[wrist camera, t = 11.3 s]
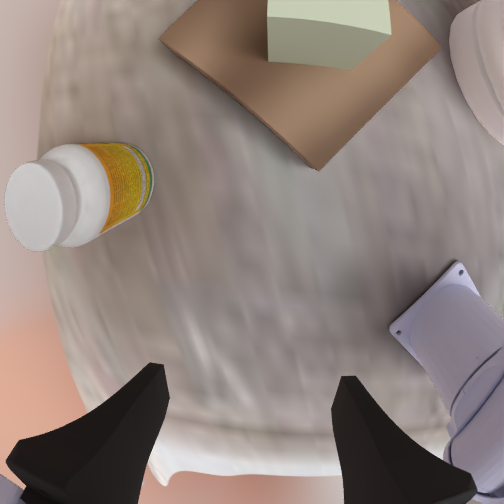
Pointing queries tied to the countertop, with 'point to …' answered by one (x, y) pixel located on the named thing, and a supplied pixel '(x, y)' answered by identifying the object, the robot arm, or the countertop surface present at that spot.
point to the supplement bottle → (77, 193)
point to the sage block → (326, 31)
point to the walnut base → (297, 74)
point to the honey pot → (481, 62)
